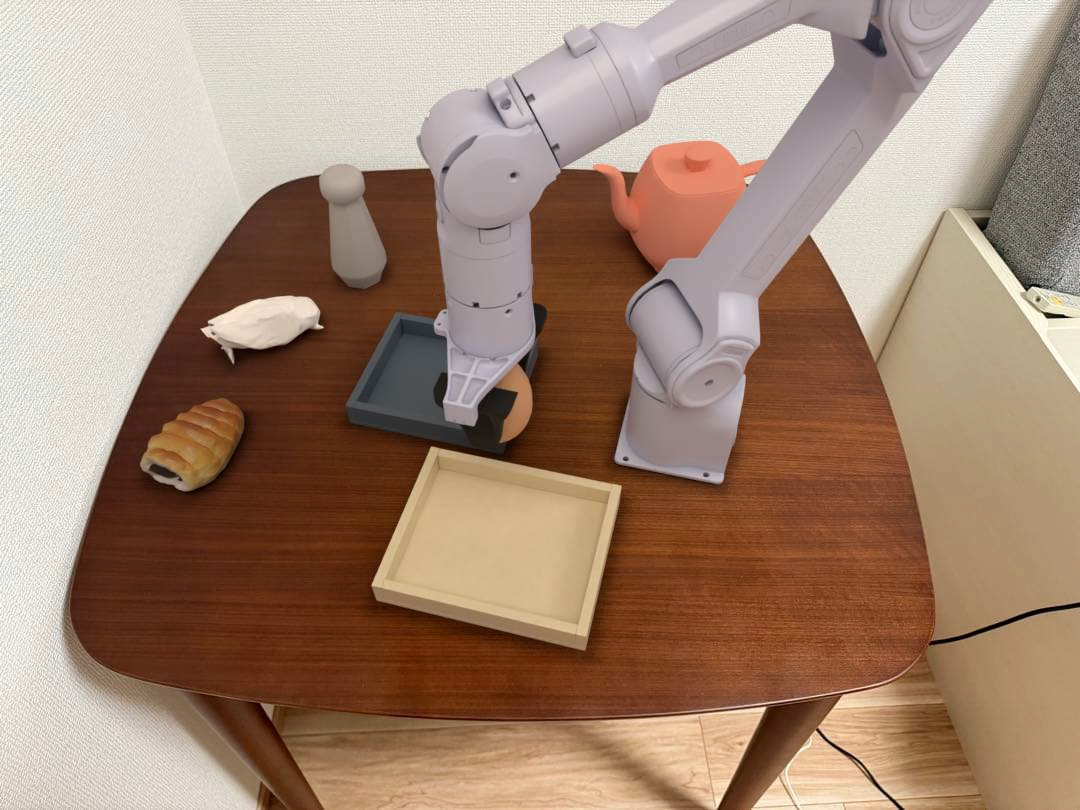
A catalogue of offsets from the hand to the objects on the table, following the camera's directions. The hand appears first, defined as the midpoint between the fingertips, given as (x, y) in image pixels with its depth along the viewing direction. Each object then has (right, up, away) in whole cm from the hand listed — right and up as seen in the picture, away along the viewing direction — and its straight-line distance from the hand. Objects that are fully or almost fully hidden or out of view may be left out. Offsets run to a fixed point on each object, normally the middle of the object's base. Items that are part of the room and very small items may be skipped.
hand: (497, 412), depth 63 cm
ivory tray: (0, -11, +3) cm, 11 cm away
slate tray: (-6, +2, +14) cm, 15 cm away
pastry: (-27, -4, +9) cm, 29 cm away
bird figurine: (-23, +7, +19) cm, 31 cm away
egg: (0, -2, +2) cm, 3 cm away
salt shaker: (-16, +14, +25) cm, 33 cm away
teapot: (+18, +18, +28) cm, 38 cm away
